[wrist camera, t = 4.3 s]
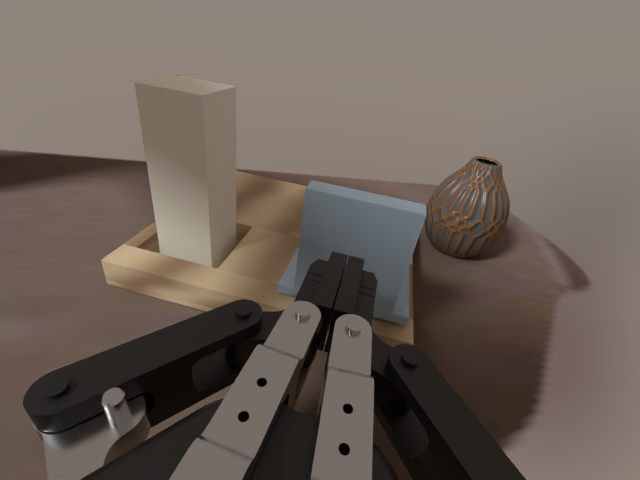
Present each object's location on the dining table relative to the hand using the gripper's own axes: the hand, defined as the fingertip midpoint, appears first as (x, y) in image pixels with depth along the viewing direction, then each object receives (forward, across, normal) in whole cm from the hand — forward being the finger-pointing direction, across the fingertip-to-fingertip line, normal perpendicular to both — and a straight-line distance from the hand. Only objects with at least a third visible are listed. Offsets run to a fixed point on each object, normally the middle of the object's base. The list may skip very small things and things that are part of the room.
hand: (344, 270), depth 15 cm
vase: (+18, -9, +8) cm, 22 cm away
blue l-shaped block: (+7, 0, +5) cm, 9 cm away
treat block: (+7, +11, +7) cm, 15 cm away
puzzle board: (+11, +5, +7) cm, 14 cm away
